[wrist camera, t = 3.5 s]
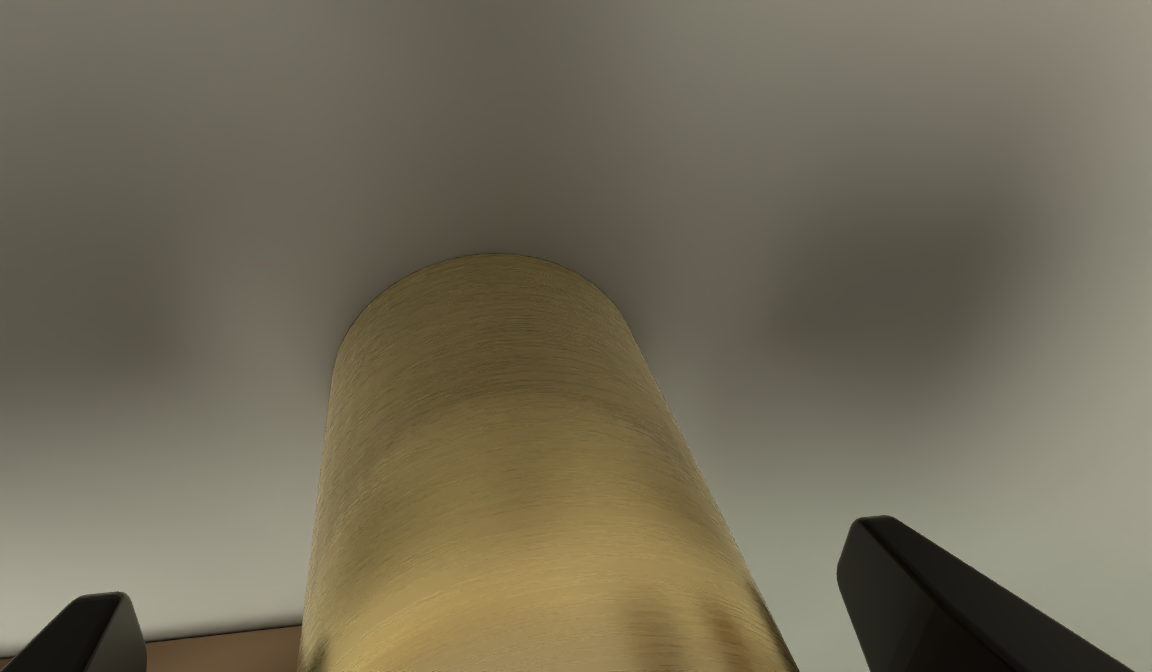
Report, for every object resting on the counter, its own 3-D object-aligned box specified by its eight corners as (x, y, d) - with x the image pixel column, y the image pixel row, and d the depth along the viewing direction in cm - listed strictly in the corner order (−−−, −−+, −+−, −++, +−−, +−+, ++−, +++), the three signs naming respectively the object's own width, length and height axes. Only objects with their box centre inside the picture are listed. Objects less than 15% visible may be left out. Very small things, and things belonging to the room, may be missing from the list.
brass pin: (654, 249, 11) (1300, 1227, 3) (622, 493, 13) (946, 1400, 5) (315, 257, 10) (30, 1675, 2) (344, 517, 12) (260, 1652, 4)
